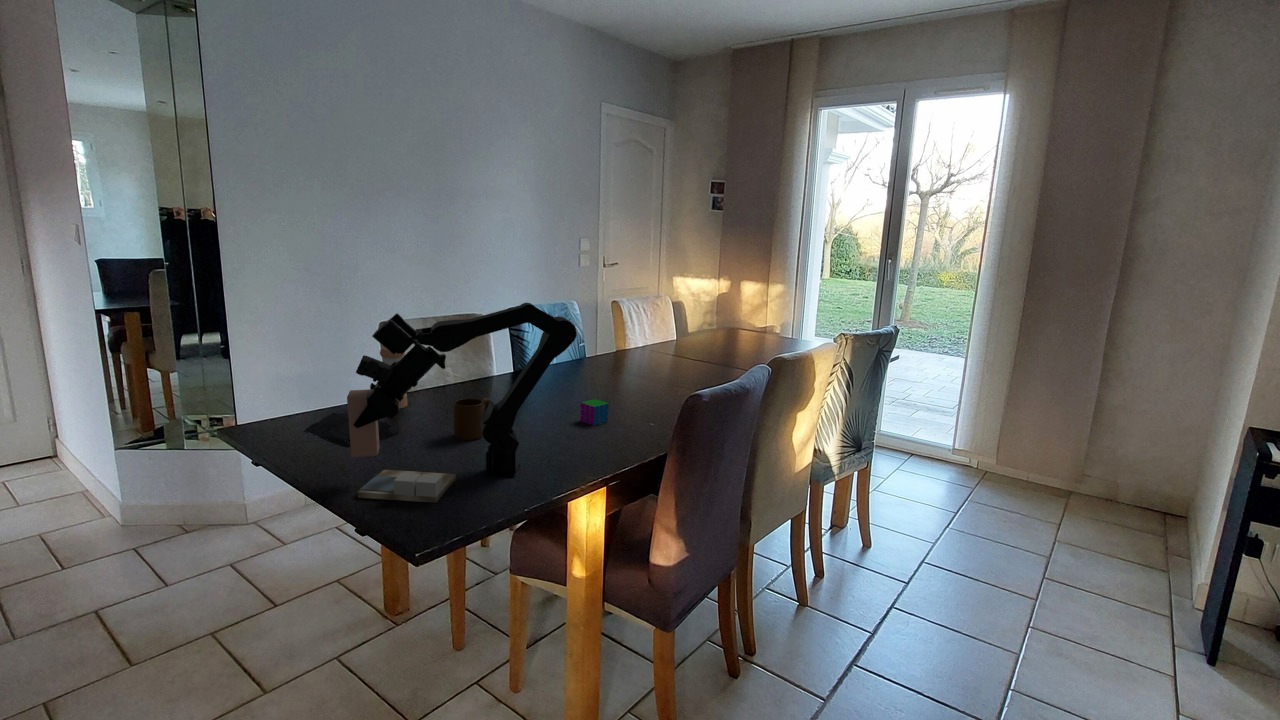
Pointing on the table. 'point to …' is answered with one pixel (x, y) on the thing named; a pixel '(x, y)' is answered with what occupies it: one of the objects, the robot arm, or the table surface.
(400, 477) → the built blocks
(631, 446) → the table surface
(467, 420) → the mug
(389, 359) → the salt shaker
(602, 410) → the puzzle toy
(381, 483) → the board
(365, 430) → the tower block
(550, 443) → the table surface
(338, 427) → the dark slate chunk
